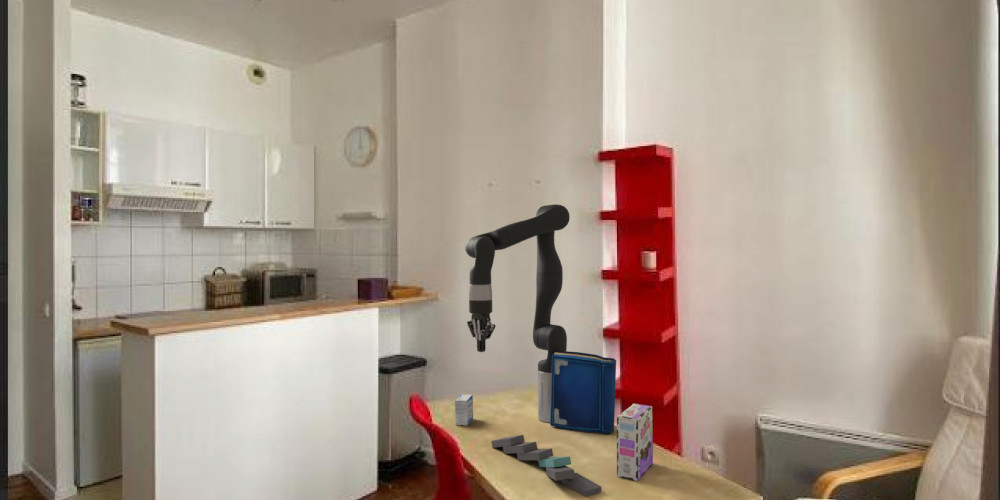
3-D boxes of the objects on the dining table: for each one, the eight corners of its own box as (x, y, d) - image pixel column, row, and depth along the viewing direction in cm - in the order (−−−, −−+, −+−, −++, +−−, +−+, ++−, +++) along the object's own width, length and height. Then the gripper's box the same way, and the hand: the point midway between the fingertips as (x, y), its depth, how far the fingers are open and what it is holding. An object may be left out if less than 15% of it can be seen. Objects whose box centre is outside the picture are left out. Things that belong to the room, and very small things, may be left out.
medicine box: (467, 426, 191) (467, 400, 191) (455, 425, 192) (454, 400, 192) (473, 418, 199) (473, 394, 198) (461, 418, 199) (460, 394, 199)
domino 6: (576, 472, 148) (601, 486, 140) (576, 480, 148) (601, 494, 140) (561, 476, 146) (585, 491, 137) (561, 484, 146) (585, 499, 137)
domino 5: (563, 464, 151) (573, 469, 142) (564, 472, 151) (574, 477, 141) (545, 467, 151) (554, 472, 141) (546, 475, 150) (555, 480, 141)
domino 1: (504, 437, 174) (523, 434, 166) (505, 444, 174) (524, 441, 166) (491, 440, 171) (509, 438, 163) (492, 447, 171) (511, 445, 163)
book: (618, 430, 186) (618, 355, 185) (613, 437, 179) (613, 359, 178) (556, 421, 195) (555, 349, 194) (549, 427, 188) (549, 353, 187)
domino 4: (554, 456, 158) (570, 456, 149) (555, 464, 158) (571, 464, 149) (538, 459, 156) (553, 459, 148) (539, 467, 156) (554, 467, 147)
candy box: (637, 482, 146) (637, 419, 145) (616, 477, 149) (615, 415, 148) (653, 463, 157) (653, 405, 157) (633, 459, 160) (632, 402, 160)
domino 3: (530, 449, 164) (551, 448, 156) (531, 456, 164) (553, 455, 156) (516, 453, 161) (538, 452, 153) (518, 460, 161) (539, 460, 153)
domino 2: (515, 442, 169) (536, 441, 162) (517, 449, 169) (537, 448, 161) (502, 446, 166) (522, 445, 159) (503, 453, 166) (524, 452, 158)
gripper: (502, 298, 179) (502, 353, 179) (478, 296, 189) (478, 347, 190) (483, 300, 174) (484, 356, 175) (459, 297, 185) (460, 350, 185)
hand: (481, 351), depth 182 cm, fingers closed
